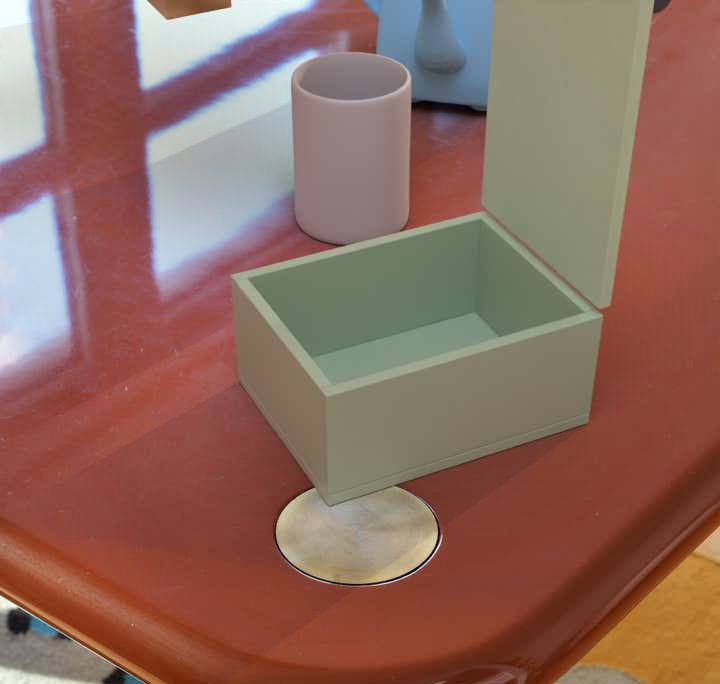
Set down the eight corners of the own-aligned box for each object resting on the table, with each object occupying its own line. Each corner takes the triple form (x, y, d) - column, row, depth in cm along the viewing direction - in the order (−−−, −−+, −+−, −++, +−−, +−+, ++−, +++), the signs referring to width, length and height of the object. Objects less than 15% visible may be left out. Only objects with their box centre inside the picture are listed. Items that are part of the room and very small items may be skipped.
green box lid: (644, -17, 65) (728, -34, 67) (500, -101, 74) (577, -114, 76) (599, 310, 78) (671, 289, 79) (480, 204, 87) (547, 188, 88)
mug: (425, 235, 100) (430, 92, 92) (314, 255, 98) (310, 109, 90) (372, 163, 108) (373, 26, 101) (269, 179, 106) (262, 41, 99)
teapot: (332, 64, 122) (329, -94, 113) (494, 34, 127) (504, -120, 118) (419, 150, 110) (423, -19, 101) (595, 113, 115) (614, -51, 106)
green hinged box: (328, 506, 78) (326, 396, 72) (238, 380, 87) (229, 274, 81) (589, 423, 83) (604, 315, 78) (478, 313, 92) (485, 209, 87)
